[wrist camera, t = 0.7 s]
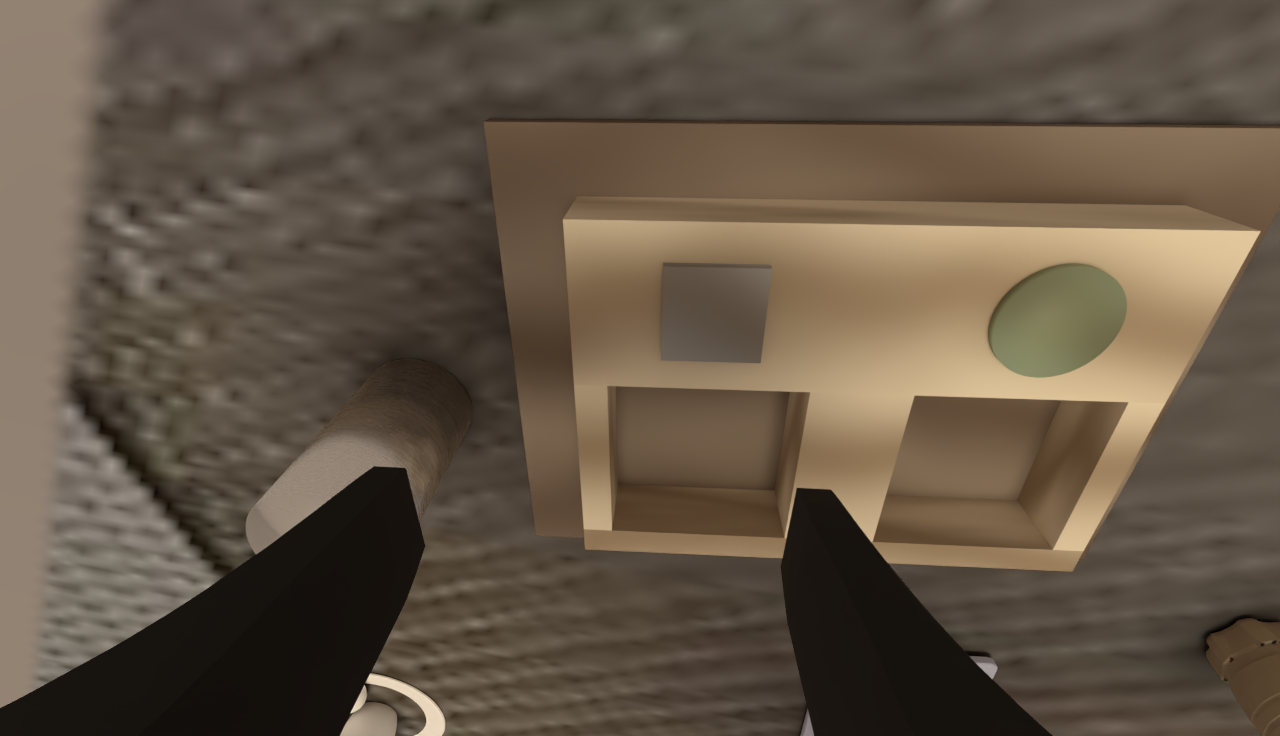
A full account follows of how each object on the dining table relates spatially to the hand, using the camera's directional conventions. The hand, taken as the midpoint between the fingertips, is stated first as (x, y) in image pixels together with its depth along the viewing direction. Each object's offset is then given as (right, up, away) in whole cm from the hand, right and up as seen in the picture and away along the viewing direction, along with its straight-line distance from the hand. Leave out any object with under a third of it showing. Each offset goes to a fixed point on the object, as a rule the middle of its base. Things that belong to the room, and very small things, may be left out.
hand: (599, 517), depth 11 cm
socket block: (+7, +3, +9) cm, 12 cm away
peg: (-8, +1, +11) cm, 13 cm away
